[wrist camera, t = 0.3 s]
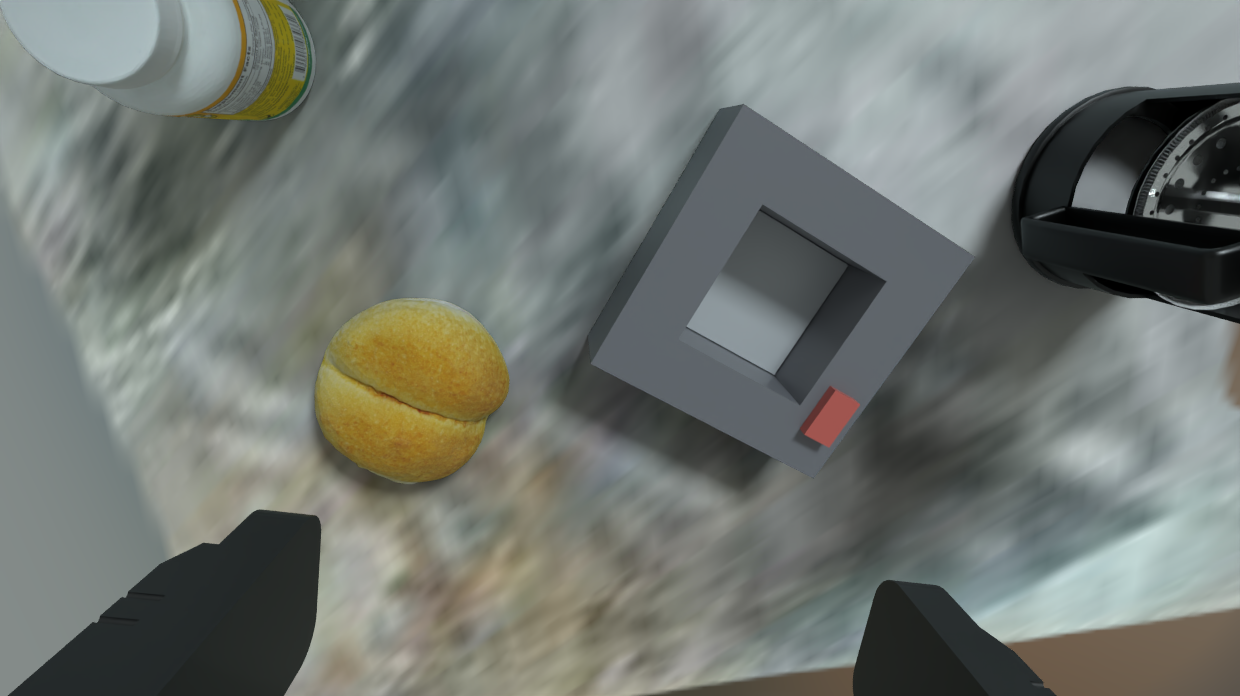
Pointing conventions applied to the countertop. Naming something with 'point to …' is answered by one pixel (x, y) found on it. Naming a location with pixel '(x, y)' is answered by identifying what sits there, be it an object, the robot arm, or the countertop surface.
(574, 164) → the countertop surface
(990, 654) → the robot arm
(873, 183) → the countertop surface
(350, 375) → the bread roll
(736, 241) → the socket block
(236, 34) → the supplement bottle
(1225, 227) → the french press
